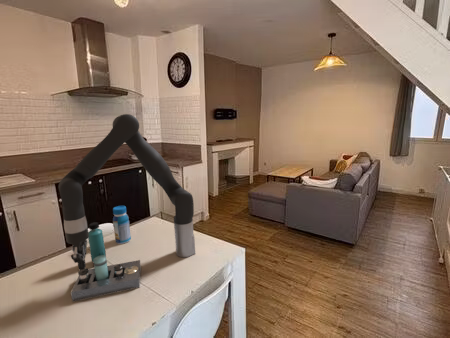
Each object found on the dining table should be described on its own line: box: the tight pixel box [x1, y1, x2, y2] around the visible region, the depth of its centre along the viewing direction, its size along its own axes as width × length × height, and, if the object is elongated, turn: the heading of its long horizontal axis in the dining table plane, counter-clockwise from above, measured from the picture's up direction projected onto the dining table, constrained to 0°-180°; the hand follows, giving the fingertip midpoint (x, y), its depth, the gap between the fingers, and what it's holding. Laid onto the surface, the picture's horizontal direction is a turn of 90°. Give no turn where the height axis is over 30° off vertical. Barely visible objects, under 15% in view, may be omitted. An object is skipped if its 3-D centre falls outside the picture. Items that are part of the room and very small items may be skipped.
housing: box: [70, 259, 142, 302], centre depth 100 cm, size 24×14×4 cm, turn 107°
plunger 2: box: [114, 263, 123, 277], centre depth 100 cm, size 4×4×5 cm
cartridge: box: [93, 255, 109, 281], centre depth 98 cm, size 5×5×12 cm
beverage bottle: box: [87, 222, 107, 263], centre depth 114 cm, size 6×7×20 cm
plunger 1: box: [77, 267, 89, 284], centre depth 97 cm, size 4×4×5 cm
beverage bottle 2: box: [112, 205, 132, 245], centre depth 134 cm, size 8×8×20 cm
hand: (82, 268), depth 96 cm, fingers closed
